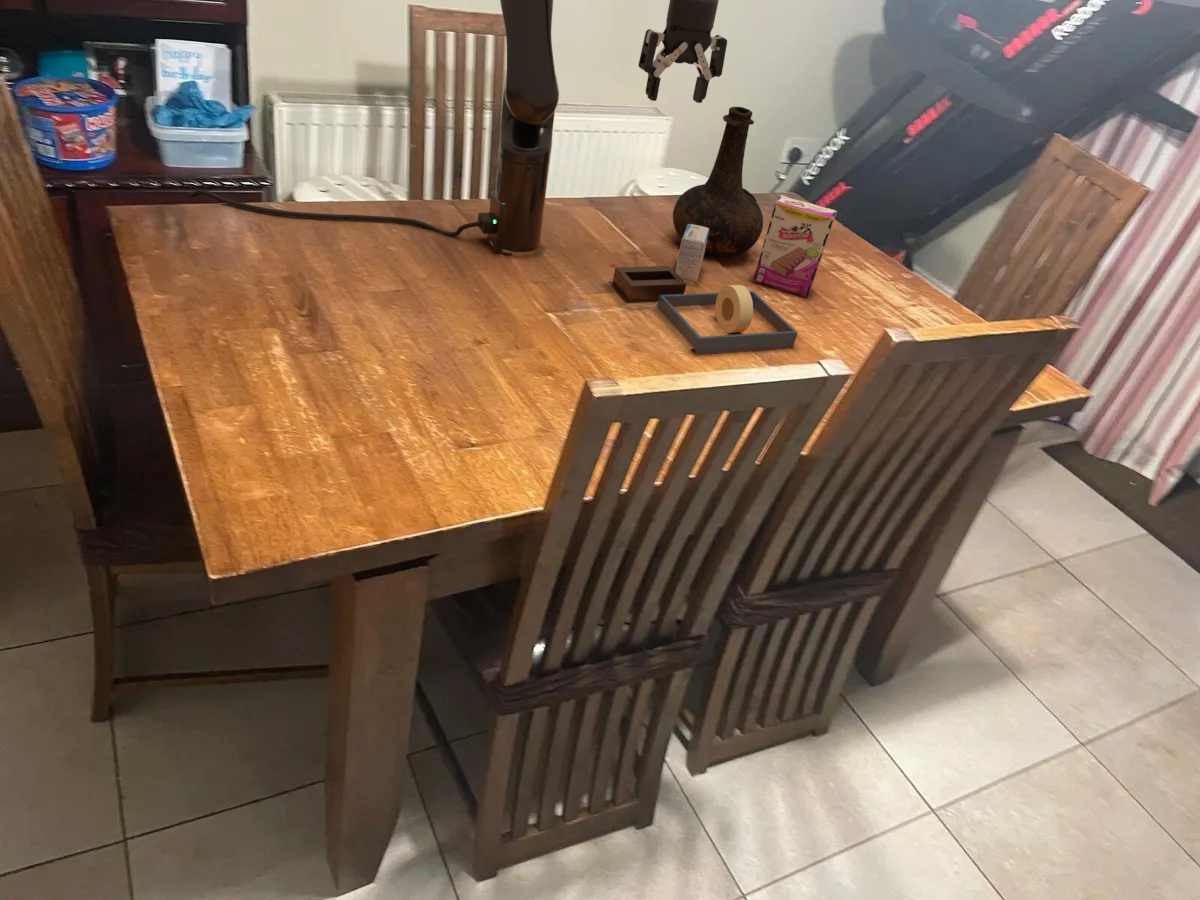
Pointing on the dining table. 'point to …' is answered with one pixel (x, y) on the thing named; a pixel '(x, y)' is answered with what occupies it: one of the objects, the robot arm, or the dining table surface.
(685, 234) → the medicine box
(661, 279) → the holder
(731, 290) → the tape roll
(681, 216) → the glass bottle
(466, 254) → the dining table surface
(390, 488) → the dining table surface
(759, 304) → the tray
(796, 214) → the candy bar box
